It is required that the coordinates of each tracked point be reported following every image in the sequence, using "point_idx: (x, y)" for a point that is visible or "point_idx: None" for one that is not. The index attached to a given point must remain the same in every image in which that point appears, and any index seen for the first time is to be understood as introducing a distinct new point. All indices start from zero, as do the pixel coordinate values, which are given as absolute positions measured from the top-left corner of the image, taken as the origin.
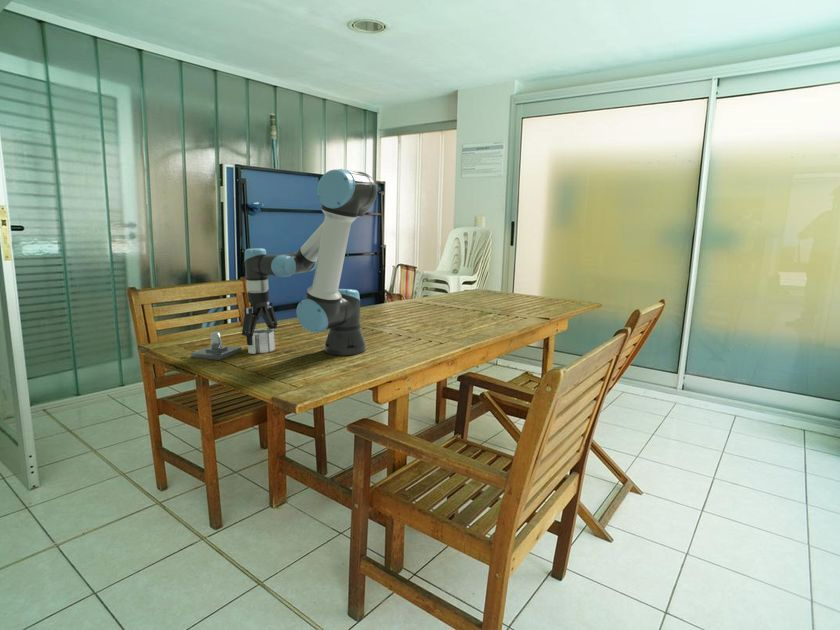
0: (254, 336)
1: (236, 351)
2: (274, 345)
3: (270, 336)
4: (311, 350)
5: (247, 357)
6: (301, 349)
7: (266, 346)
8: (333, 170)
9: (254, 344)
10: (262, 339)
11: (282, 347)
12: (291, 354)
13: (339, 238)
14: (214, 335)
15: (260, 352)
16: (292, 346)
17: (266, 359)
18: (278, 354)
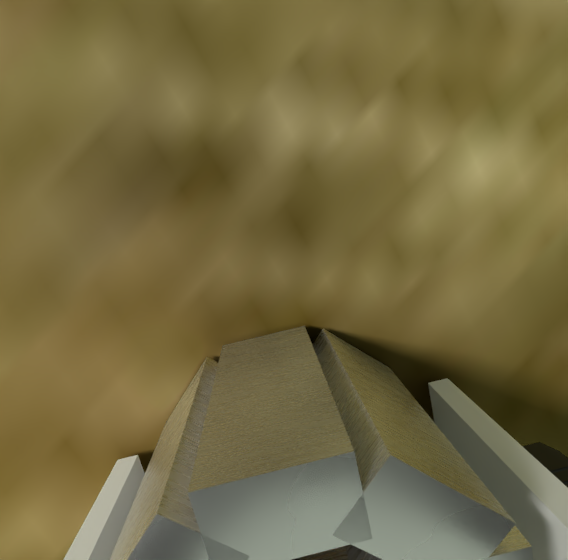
0: (565, 520)
1: None
2: (220, 363)
3: (298, 417)
4: None
5: (529, 362)
6: (28, 104)
7: (351, 360)
8: None
9: (494, 435)
10: (422, 432)
11: (103, 358)
12: (249, 48)
13: None
14: None
15: (388, 367)
16: (6, 298)
17: (513, 151)
18: (321, 184)
